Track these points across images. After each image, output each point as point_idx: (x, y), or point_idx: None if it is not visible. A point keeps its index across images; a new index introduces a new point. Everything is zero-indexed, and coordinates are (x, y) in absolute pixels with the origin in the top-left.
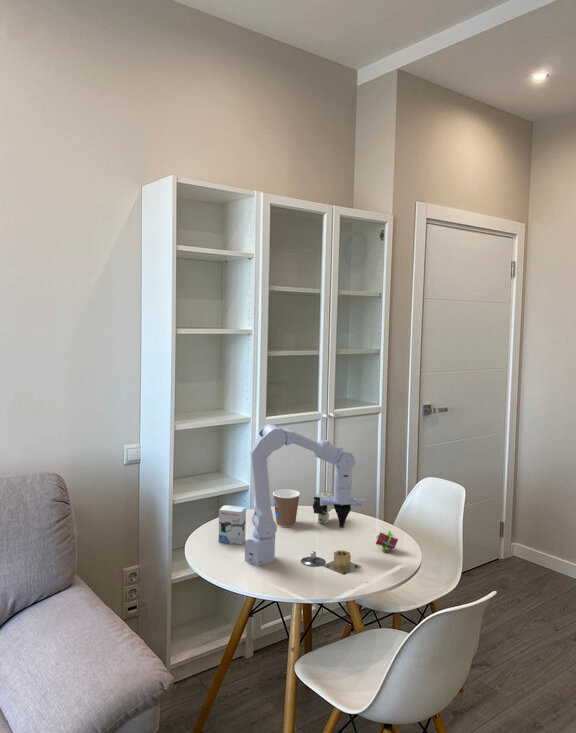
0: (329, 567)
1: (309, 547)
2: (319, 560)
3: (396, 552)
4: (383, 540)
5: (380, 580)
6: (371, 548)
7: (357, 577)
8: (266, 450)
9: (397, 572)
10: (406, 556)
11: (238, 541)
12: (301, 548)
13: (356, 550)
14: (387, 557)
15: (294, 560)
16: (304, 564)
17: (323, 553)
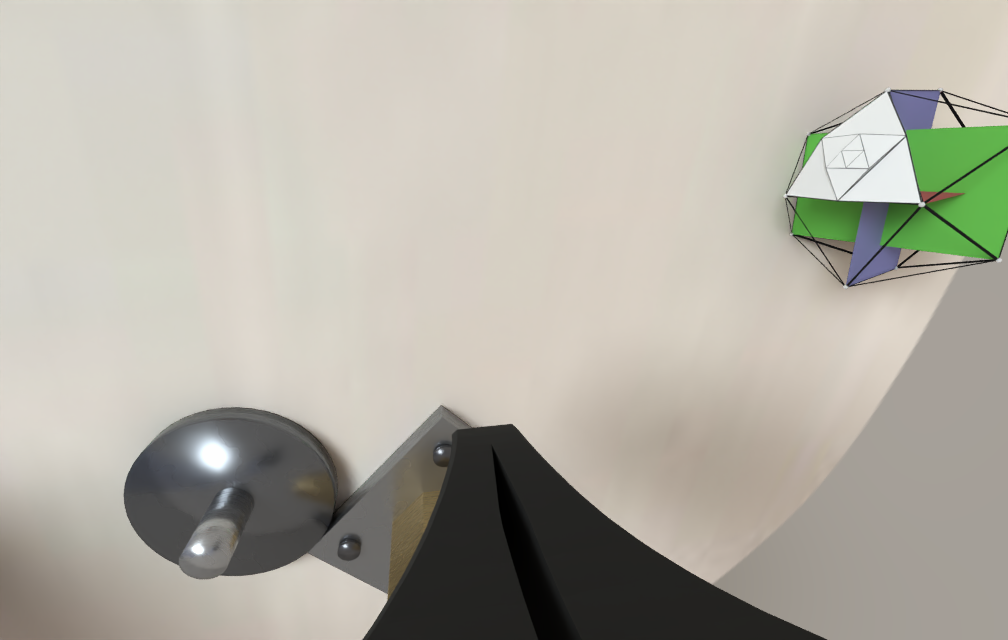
0: (363, 564)
1: (145, 144)
2: (282, 481)
3: None
4: (872, 205)
5: None
6: (727, 143)
7: None
8: None
9: (755, 500)
10: (904, 281)
11: None
12: (59, 176)
13: (596, 195)
14: (781, 310)
15: (67, 441)
16: (171, 555)
17: (307, 281)
